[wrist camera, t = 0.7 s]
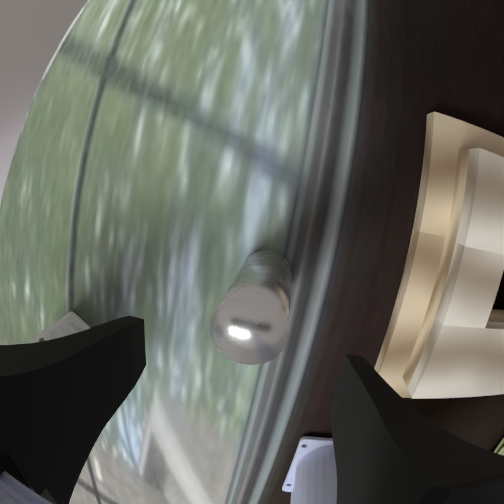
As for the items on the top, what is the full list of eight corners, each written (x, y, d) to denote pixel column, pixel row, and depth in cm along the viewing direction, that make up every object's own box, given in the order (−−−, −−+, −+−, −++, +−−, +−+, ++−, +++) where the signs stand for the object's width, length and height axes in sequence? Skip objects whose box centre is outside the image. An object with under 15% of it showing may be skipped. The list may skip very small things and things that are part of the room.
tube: (287, 300, 20) (280, 369, 13) (239, 292, 21) (208, 356, 13) (295, 253, 20) (293, 303, 12) (245, 245, 20) (213, 290, 12)
